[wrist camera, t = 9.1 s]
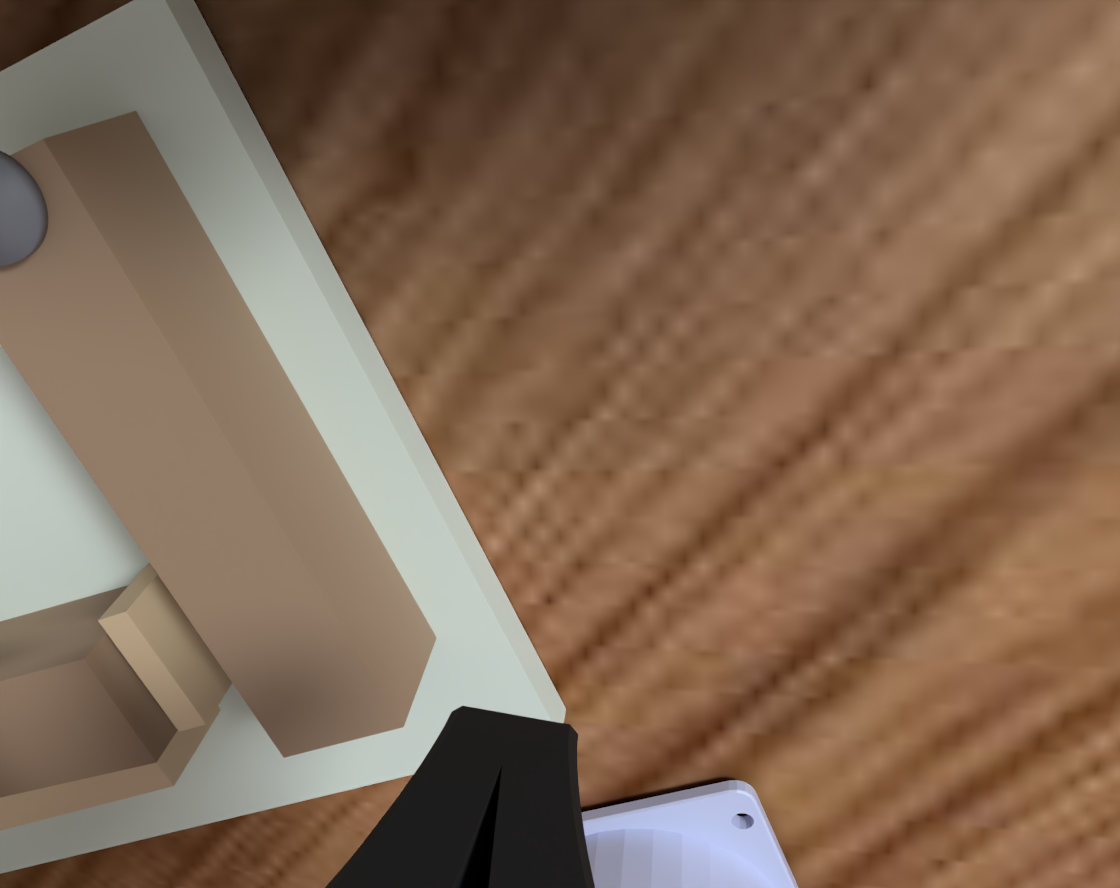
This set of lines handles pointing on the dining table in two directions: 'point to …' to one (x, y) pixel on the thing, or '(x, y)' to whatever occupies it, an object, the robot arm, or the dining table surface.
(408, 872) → the robot arm
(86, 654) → the folding leg
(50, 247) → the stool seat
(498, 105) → the dining table surface
